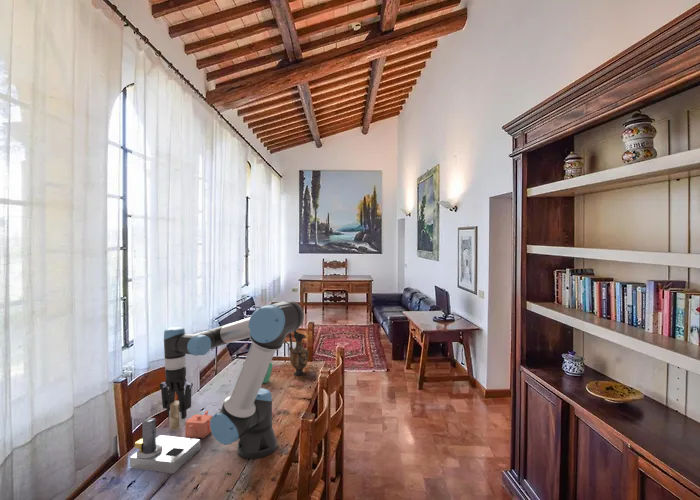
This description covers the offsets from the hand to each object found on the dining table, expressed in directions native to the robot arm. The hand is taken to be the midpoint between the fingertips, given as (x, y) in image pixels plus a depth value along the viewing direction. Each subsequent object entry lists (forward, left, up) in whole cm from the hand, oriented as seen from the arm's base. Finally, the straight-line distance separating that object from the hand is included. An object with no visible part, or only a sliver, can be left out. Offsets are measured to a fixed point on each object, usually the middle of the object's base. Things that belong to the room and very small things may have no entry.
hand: (177, 426), depth 148 cm
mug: (0, -74, -10) cm, 75 cm away
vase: (-18, -91, -10) cm, 94 cm away
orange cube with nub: (-1, -12, -10) cm, 16 cm away
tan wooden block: (0, 0, -1) cm, 1 cm away
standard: (+5, +10, -6) cm, 12 cm away
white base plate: (+1, +6, -10) cm, 11 cm away
